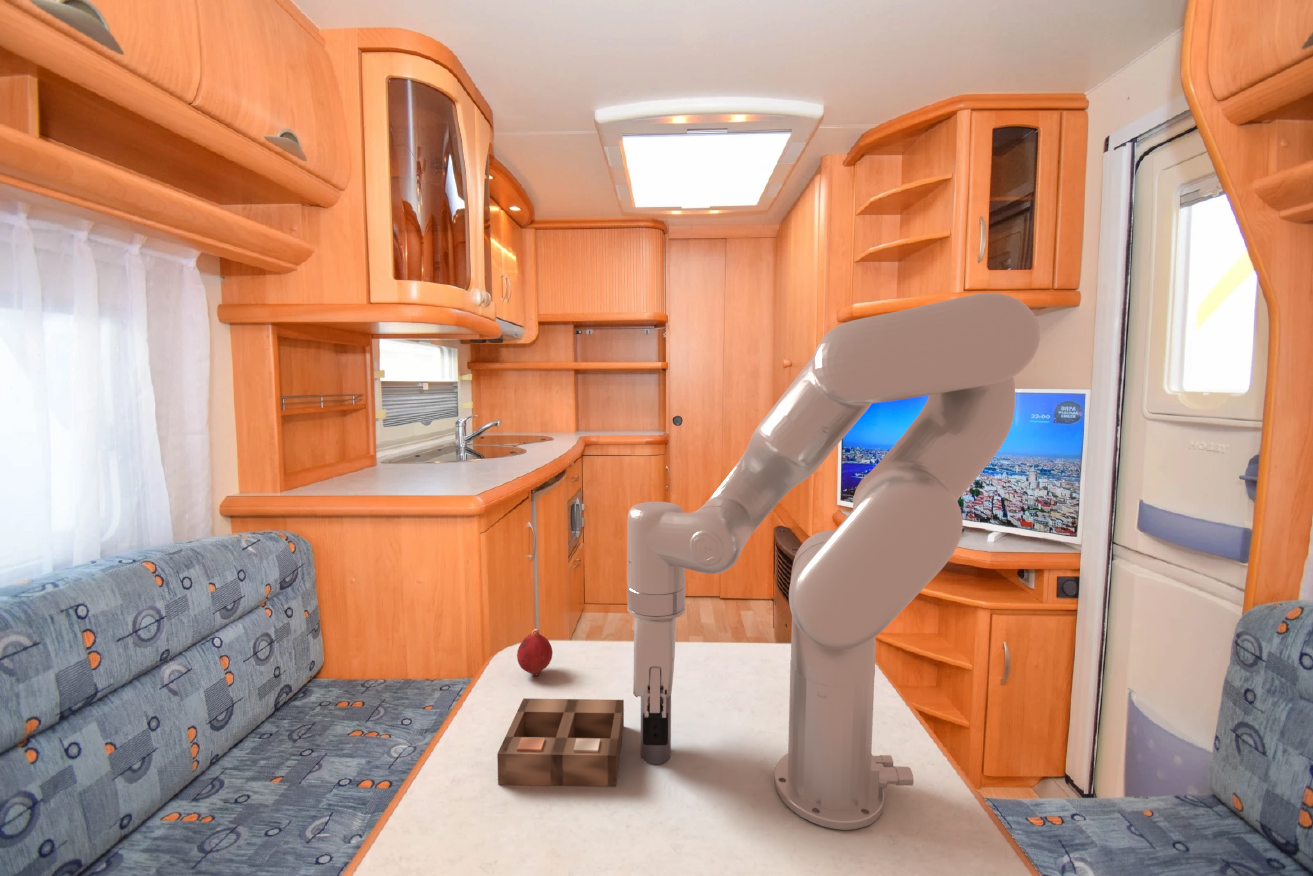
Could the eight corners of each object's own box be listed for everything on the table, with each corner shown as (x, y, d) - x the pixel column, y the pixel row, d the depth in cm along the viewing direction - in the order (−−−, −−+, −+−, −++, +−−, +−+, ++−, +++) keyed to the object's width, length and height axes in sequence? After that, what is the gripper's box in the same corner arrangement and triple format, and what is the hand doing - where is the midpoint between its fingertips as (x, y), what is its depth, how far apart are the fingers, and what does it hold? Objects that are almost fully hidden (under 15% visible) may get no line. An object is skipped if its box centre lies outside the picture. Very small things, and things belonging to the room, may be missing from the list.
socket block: (623, 726, 78) (623, 697, 78) (615, 786, 66) (615, 753, 66) (523, 724, 78) (523, 696, 78) (498, 784, 66) (497, 751, 66)
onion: (520, 686, 89) (520, 639, 88) (514, 670, 94) (514, 625, 93) (556, 679, 91) (555, 633, 90) (548, 663, 96) (547, 620, 96)
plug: (670, 745, 74) (670, 675, 73) (670, 765, 70) (671, 691, 69) (641, 744, 74) (641, 674, 73) (639, 764, 70) (640, 690, 69)
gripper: (631, 576, 79) (631, 696, 80) (622, 625, 62) (622, 776, 64) (683, 576, 79) (682, 697, 80) (687, 626, 62) (686, 777, 63)
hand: (655, 731), depth 72 cm, fingers closed on plug, 4 cm apart
